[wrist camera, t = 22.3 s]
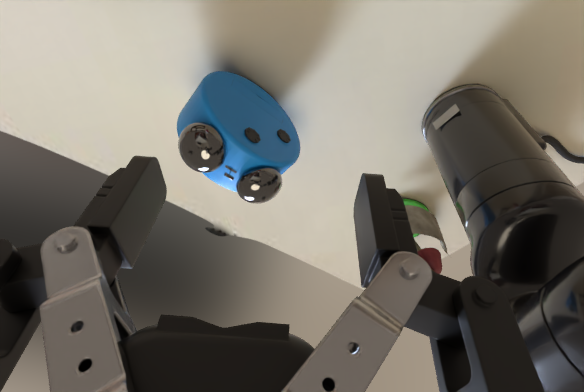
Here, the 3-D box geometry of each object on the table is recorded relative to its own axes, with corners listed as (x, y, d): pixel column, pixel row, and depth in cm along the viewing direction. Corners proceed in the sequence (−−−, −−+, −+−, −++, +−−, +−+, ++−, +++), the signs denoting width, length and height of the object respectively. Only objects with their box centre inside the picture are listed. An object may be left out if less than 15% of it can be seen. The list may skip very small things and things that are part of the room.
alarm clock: (194, 88, 40) (150, 162, 29) (220, 50, 37) (180, 118, 26) (275, 146, 46) (263, 226, 35) (304, 118, 42) (300, 197, 32)
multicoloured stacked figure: (416, 246, 60) (438, 325, 49) (353, 234, 58) (361, 312, 48) (453, 204, 52) (488, 287, 41) (380, 188, 50) (397, 270, 40)
